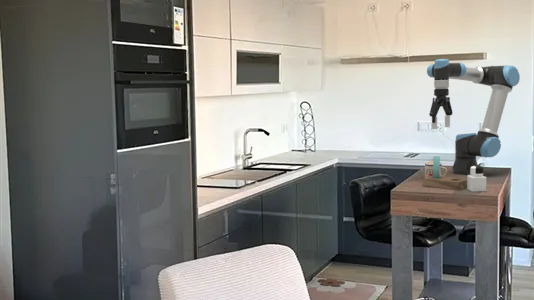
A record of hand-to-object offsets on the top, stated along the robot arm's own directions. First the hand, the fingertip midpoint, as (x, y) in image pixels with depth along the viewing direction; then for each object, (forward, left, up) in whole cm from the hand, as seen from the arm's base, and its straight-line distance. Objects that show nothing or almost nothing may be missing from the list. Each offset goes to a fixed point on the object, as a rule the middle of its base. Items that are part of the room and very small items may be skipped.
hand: (441, 128), depth 334 cm
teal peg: (+14, +6, -29) cm, 32 cm away
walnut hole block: (+14, +11, -29) cm, 34 cm away
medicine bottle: (+15, +28, -29) cm, 43 cm away
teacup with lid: (-2, -4, -29) cm, 29 cm away
